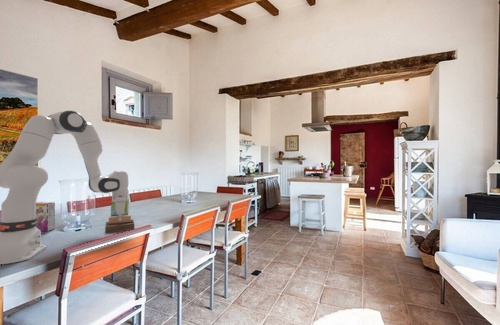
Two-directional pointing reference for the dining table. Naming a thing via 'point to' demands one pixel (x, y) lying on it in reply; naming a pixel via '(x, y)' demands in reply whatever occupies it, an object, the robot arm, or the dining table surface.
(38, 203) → the candy bar box
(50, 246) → the dining table surface
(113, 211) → the tea box
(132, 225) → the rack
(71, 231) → the dining table surface
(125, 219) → the tile strip
